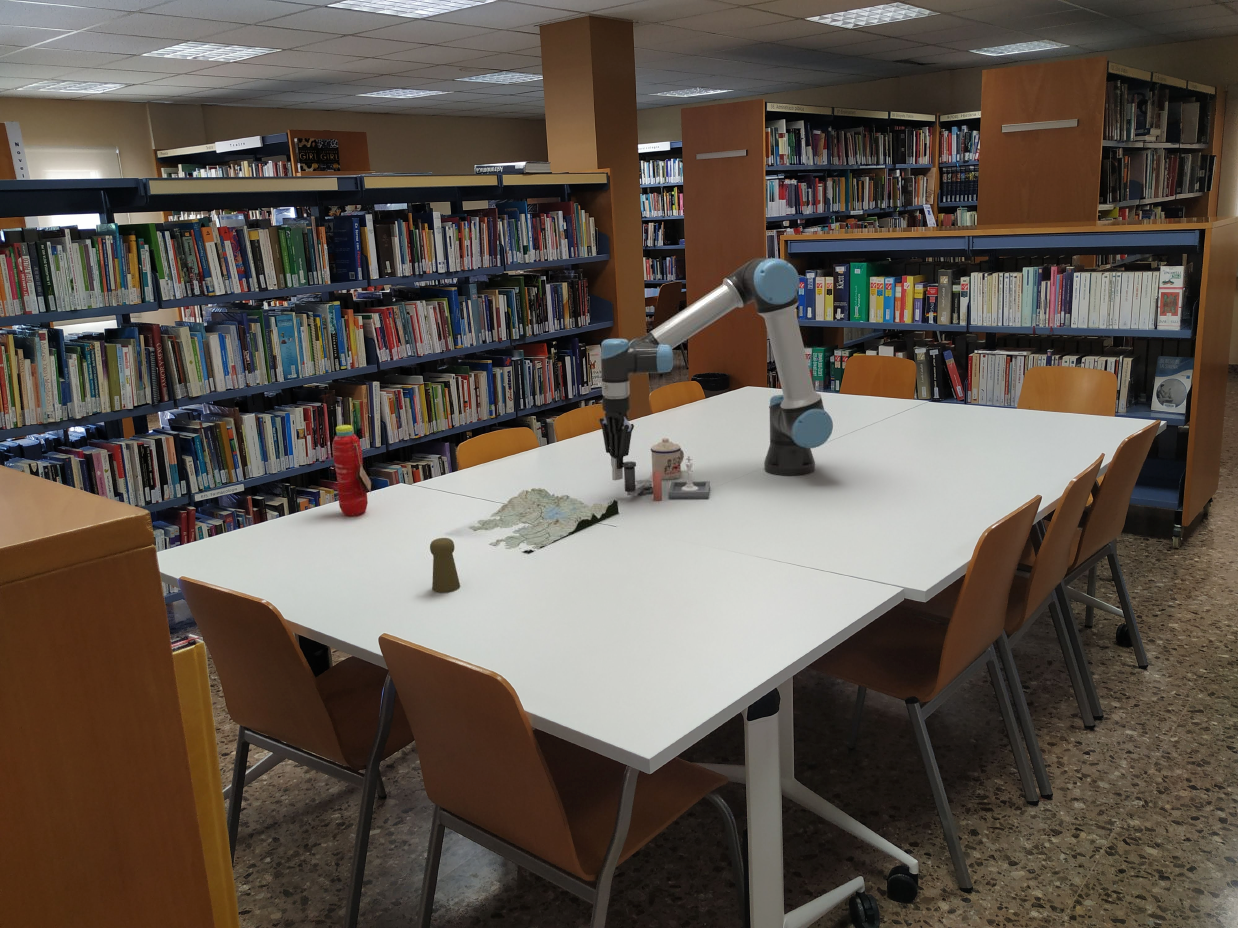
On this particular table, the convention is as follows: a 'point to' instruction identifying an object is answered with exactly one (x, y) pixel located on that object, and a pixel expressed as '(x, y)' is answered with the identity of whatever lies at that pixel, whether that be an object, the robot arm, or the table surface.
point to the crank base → (646, 491)
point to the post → (657, 486)
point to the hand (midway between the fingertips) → (617, 479)
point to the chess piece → (689, 477)
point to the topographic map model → (545, 518)
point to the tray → (678, 494)
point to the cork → (444, 566)
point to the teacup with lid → (667, 459)
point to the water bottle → (350, 472)
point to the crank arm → (633, 480)
